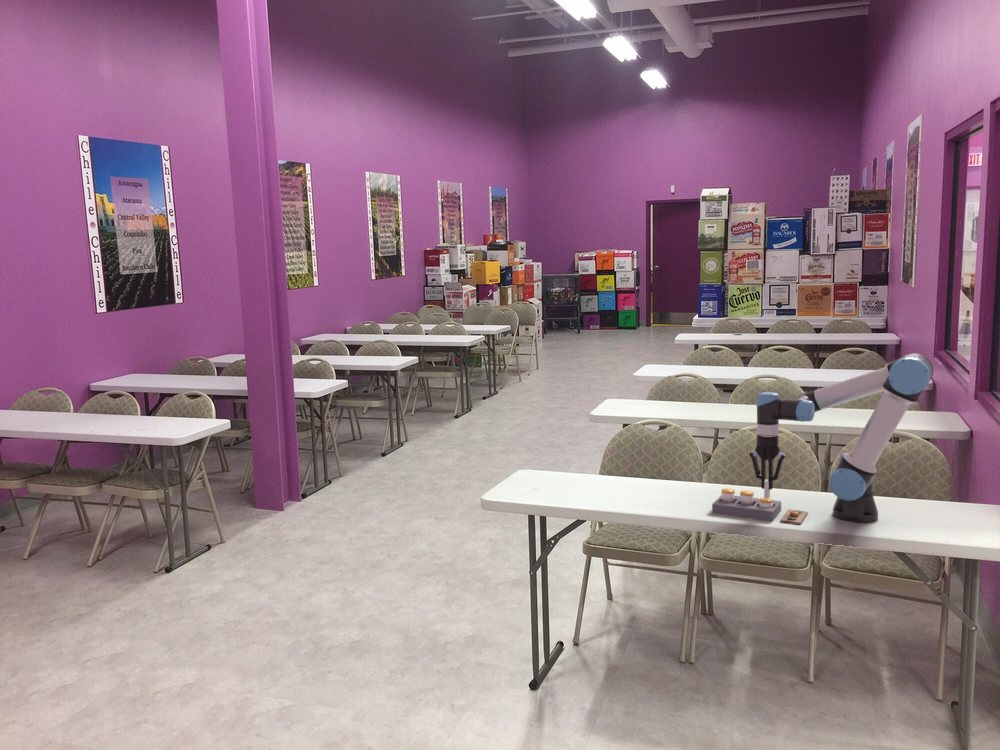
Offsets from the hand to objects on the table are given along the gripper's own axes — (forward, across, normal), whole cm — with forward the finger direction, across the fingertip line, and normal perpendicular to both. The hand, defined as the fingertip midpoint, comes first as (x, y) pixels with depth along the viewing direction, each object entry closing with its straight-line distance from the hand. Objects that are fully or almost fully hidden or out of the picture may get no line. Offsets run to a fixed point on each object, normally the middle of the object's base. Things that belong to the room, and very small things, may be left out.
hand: (767, 497), depth 300 cm
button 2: (+5, 0, 0) cm, 5 cm away
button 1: (+3, +14, 0) cm, 15 cm away
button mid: (+3, +7, 0) cm, 8 cm away
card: (+7, -10, 0) cm, 12 cm away
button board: (+6, +7, 0) cm, 10 cm away
